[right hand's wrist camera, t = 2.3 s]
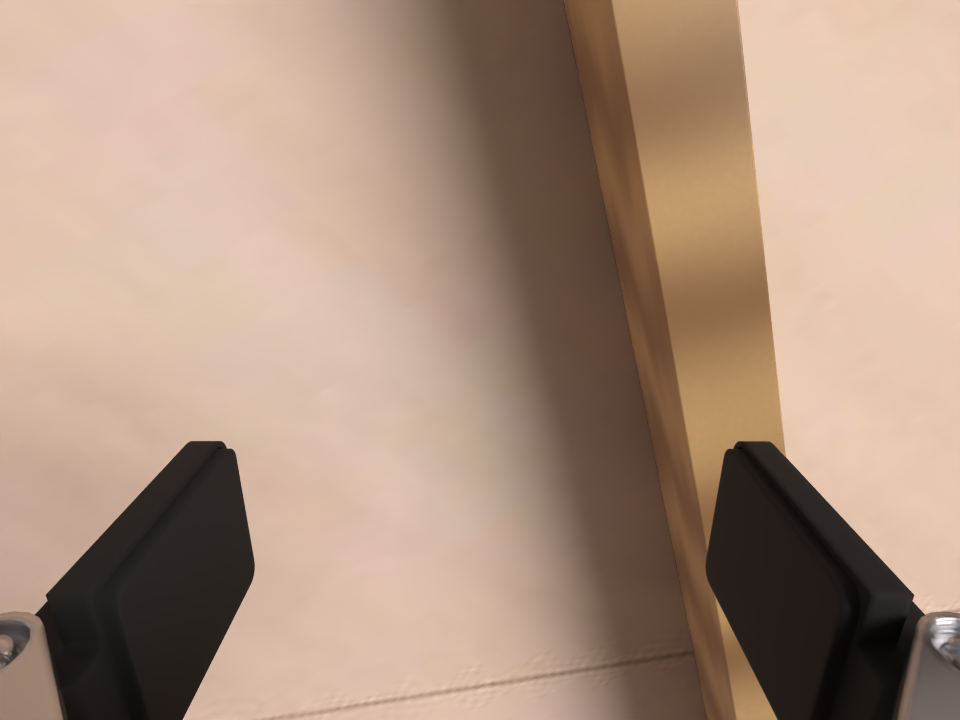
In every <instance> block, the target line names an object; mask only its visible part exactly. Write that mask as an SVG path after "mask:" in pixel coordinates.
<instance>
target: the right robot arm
mask: <svg viewBox="0 0 960 720" xmlns="http://www.w3.org/2000/svg"><path fill="white" fill-rule="evenodd" d="M254 569H255V564H254V557H253V551H252V545H251V539H250V534H249V528H248V522H247V516H246V511H245V505H244V499H243V493H242V487H241V482H240V476H239V470H238V464H237V459H236V454H235V452H234V450H233V449H227V448H226V446H225V444H224V443H223V442H222V441H190V442H189V443H187V444H186V445H185V446H184V447H183V448H182V449H181V451H180V452H179V453H178V454H177V455H176V456H175V457H174V458H173V459H172V460H171V461H170V462H169V463H168V465H167V466H166V467H165V468H164V469H163V470H162V471H161V472H160V473H159V474H158V475H157V476H156V477H155V478H154V480H153V481H152V482H151V483H150V484H149V485H148V486H147V487H146V488H145V489H144V490H143V491H142V492H141V493H140V495H139V496H138V497H137V498H136V499H135V500H134V501H133V502H132V503H131V504H130V505H129V506H128V507H127V508H126V510H125V511H124V512H123V513H122V514H121V515H120V516H119V517H118V518H117V519H116V520H115V521H114V522H113V524H112V525H111V526H110V527H109V528H108V529H107V530H106V531H105V532H104V533H103V534H102V535H101V536H100V537H99V539H98V540H97V541H96V542H95V543H94V544H93V545H92V546H91V547H90V548H89V549H88V550H87V551H86V552H85V554H84V555H83V556H82V557H81V558H80V559H79V560H78V561H77V562H76V563H75V564H74V565H73V566H72V567H71V569H70V570H69V571H68V572H67V573H66V574H65V575H64V576H63V577H62V578H61V579H60V580H59V581H58V583H57V584H56V585H55V586H54V587H53V588H52V589H51V590H50V591H49V592H48V593H47V594H46V597H47V600H48V601H47V602H46V603H45V605H44V606H43V607H42V608H41V609H40V610H39V611H38V612H37V613H36V614H35V615H33V614H31V613H27V612H8V613H2V614H0V720H183V718H184V716H185V714H186V712H187V710H188V708H189V706H190V704H191V702H192V700H193V698H194V696H195V694H196V692H197V690H198V688H199V686H200V684H201V682H202V680H203V678H204V676H205V674H206V672H207V670H208V668H209V666H210V664H211V662H212V660H213V658H214V656H215V654H216V652H217V650H218V648H219V646H220V644H221V642H222V640H223V638H224V636H225V634H226V632H227V630H228V628H229V626H230V624H231V622H232V620H233V618H234V616H235V614H236V612H237V610H238V609H239V607H240V605H241V603H242V601H243V599H244V597H245V595H246V593H247V591H248V589H249V587H250V585H251V582H252V580H253V576H254ZM705 569H706V576H707V580H708V582H709V585H710V587H711V589H712V591H713V593H714V595H715V597H716V599H717V601H718V603H719V605H720V607H721V609H722V610H723V612H724V614H725V616H726V618H727V620H728V622H729V624H730V626H731V628H732V630H733V632H734V634H735V636H736V638H737V640H738V642H739V644H740V646H741V648H742V650H743V652H744V654H745V656H746V658H747V660H748V662H749V664H750V666H751V668H752V670H753V672H754V674H755V676H756V678H757V680H758V682H759V684H760V686H761V688H762V690H763V692H764V694H765V696H766V698H767V700H768V702H769V704H770V706H771V708H772V710H773V712H774V714H775V716H776V718H777V720H960V614H958V613H952V612H933V613H929V614H927V615H925V614H924V613H923V612H922V611H921V610H920V609H919V608H918V607H917V606H916V605H915V603H914V602H913V601H912V600H913V597H914V594H913V593H912V592H911V591H910V590H909V589H908V588H907V587H906V586H905V585H904V584H903V583H902V581H901V580H900V579H899V578H898V577H897V576H896V575H895V574H894V573H893V572H892V571H891V570H890V569H889V567H888V566H887V565H886V564H885V563H884V562H883V561H882V560H881V559H880V558H879V557H878V556H877V555H876V554H875V552H874V551H873V550H872V549H871V548H870V547H869V546H868V545H867V544H866V543H865V542H864V541H863V540H862V539H861V537H860V536H859V535H858V534H857V533H856V532H855V531H854V530H853V529H852V528H851V527H850V526H849V525H848V524H847V522H846V521H845V520H844V519H843V518H842V517H841V516H840V515H839V514H838V513H837V512H836V511H835V510H834V508H833V507H832V506H831V505H830V504H829V503H828V502H827V501H826V500H825V499H824V498H823V497H822V496H821V495H820V493H819V492H818V491H817V490H816V489H815V488H814V487H813V486H812V485H811V484H810V483H809V482H808V481H807V480H806V478H805V477H804V476H803V475H802V474H801V473H800V472H799V471H798V470H797V469H796V468H795V467H794V466H793V465H792V463H791V462H790V461H789V460H788V459H787V458H786V457H785V456H784V455H783V454H782V453H781V452H780V451H779V449H778V448H777V447H776V446H775V445H774V444H773V443H771V442H770V441H738V442H737V443H736V444H735V446H734V448H733V449H727V450H726V452H725V454H724V459H723V464H722V470H721V476H720V482H719V487H718V493H717V499H716V505H715V511H714V516H713V522H712V528H711V534H710V539H709V545H708V551H707V557H706V564H705Z"/></svg>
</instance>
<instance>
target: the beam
mask: <svg viewBox="0 0 960 720" xmlns="http://www.w3.org/2000/svg"><path fill="white" fill-rule="evenodd" d="M564 5H565V10H566V15H567V20H568V25H569V30H570V35H571V40H572V45H573V50H574V55H575V60H576V65H577V70H578V75H579V80H580V85H581V90H582V95H583V100H584V105H585V110H586V115H587V120H588V125H589V130H590V135H591V140H592V145H593V150H594V155H595V160H596V165H597V170H598V175H599V180H600V185H601V190H602V195H603V200H604V205H605V210H606V215H607V220H608V225H609V230H610V235H611V240H612V245H613V250H614V255H615V260H616V265H617V270H618V275H619V280H620V285H621V290H622V295H623V300H624V305H625V310H626V315H627V320H628V325H629V330H630V335H631V340H632V345H633V350H634V355H635V360H636V365H637V370H638V375H639V380H640V385H641V390H642V395H643V400H644V405H645V410H646V415H647V420H648V425H649V430H650V435H651V440H652V445H653V450H654V455H655V460H656V465H657V471H658V476H659V481H660V486H661V491H662V496H663V501H664V506H665V511H666V516H667V521H668V526H669V531H670V536H671V541H672V546H673V551H674V556H675V561H676V566H677V571H678V576H679V581H680V586H681V591H682V596H683V601H684V606H685V611H686V616H687V621H688V626H689V631H690V636H691V641H692V646H693V651H694V656H695V661H696V666H697V671H698V676H699V681H700V686H701V691H702V696H703V701H704V706H705V711H706V716H707V720H777V718H776V716H775V714H774V712H773V710H772V708H771V706H770V704H769V702H768V700H767V698H766V696H765V694H764V692H763V690H762V688H761V686H760V684H759V682H758V680H757V678H756V676H755V674H754V672H753V670H752V668H751V666H750V664H749V662H748V660H747V658H746V656H745V654H744V652H743V650H742V648H741V646H740V644H739V642H738V640H737V638H736V636H735V634H734V632H733V630H732V628H731V626H730V624H729V622H728V620H727V618H726V616H725V614H724V612H723V610H722V609H721V607H720V605H719V603H718V601H717V599H716V597H715V595H714V593H713V591H712V589H711V587H710V585H709V582H708V580H707V576H706V569H705V564H706V557H707V551H708V545H709V539H710V534H711V528H712V522H713V516H714V511H715V505H716V499H717V493H718V487H719V482H720V476H721V470H722V464H723V459H724V454H725V452H726V450H727V449H733V448H734V446H735V444H736V443H737V442H738V441H770V442H771V443H773V444H774V445H775V446H776V447H777V448H778V449H779V451H780V452H781V453H782V454H783V455H784V456H785V457H786V455H785V445H784V436H783V426H782V417H781V407H780V398H779V389H778V379H777V370H776V360H775V351H774V341H773V332H772V322H771V313H770V303H769V294H768V285H767V275H766V266H765V256H764V247H763V237H762V228H761V218H760V209H759V199H758V190H757V181H756V171H755V162H754V152H753V143H752V133H751V124H750V114H749V105H748V95H747V86H746V77H745V67H744V58H743V48H742V39H741V29H740V20H739V10H738V1H737V0H564Z"/></svg>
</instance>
